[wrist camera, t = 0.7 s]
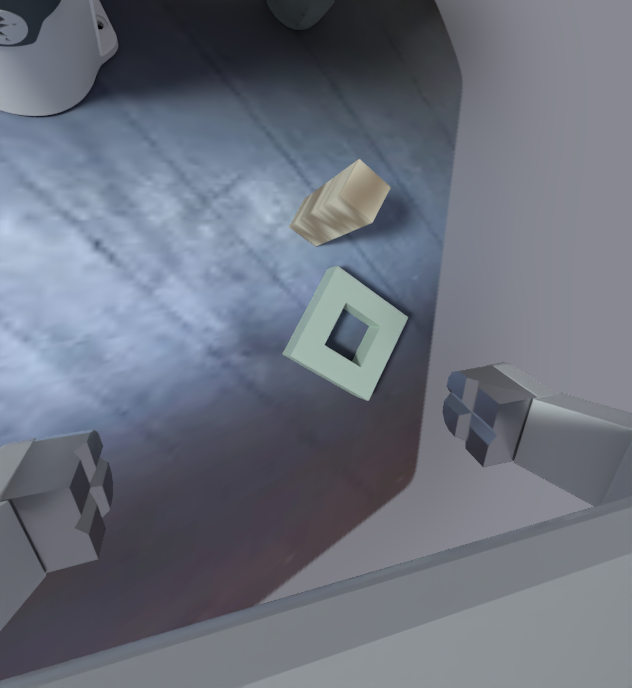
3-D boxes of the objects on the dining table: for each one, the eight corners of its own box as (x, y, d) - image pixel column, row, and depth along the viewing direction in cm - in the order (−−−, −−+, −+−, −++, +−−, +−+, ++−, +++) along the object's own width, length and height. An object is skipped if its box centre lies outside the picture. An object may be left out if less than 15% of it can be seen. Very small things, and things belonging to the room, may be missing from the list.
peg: (288, 226, 50) (339, 195, 38) (304, 199, 51) (359, 158, 38) (315, 246, 52) (372, 222, 40) (330, 219, 53) (390, 187, 40)
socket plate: (282, 354, 51) (290, 356, 48) (327, 268, 53) (337, 265, 50) (357, 397, 56) (368, 400, 54) (395, 317, 58) (408, 317, 56)
